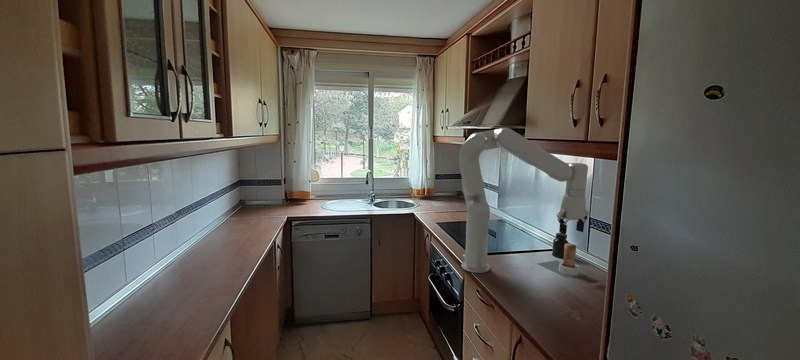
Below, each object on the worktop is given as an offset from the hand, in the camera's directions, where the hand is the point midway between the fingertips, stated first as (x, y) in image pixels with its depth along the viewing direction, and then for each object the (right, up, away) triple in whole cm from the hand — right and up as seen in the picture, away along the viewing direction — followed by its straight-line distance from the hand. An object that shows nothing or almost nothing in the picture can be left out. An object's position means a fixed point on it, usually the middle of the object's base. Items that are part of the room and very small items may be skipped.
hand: (571, 232), depth 148 cm
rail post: (0, -18, +2) cm, 18 cm away
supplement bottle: (+5, -16, +22) cm, 28 cm away
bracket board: (-1, -18, +6) cm, 19 cm away
